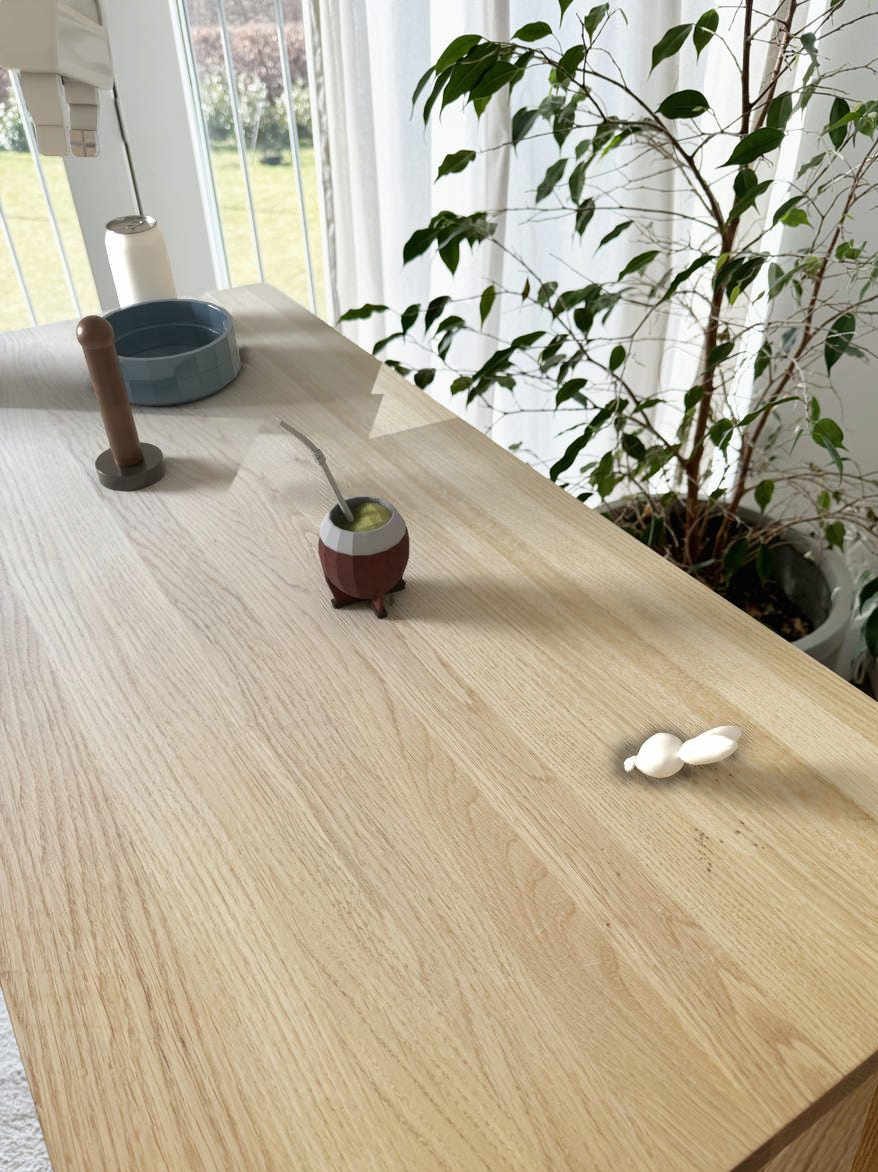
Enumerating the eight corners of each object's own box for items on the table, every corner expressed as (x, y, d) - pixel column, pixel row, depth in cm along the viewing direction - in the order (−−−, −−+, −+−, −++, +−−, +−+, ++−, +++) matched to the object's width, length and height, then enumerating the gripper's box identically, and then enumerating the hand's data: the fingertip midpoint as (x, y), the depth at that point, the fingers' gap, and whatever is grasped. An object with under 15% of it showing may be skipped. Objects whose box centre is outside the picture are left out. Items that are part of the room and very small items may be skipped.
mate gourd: (425, 608, 80) (417, 444, 70) (332, 637, 78) (310, 470, 68) (391, 558, 85) (379, 397, 75) (302, 583, 83) (277, 420, 73)
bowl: (77, 406, 105) (62, 357, 102) (128, 342, 117) (117, 296, 113) (218, 412, 104) (209, 363, 100) (256, 347, 115) (249, 301, 112)
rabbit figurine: (626, 735, 70) (739, 705, 67) (644, 788, 70) (757, 761, 67) (608, 754, 64) (729, 723, 62) (626, 812, 64) (749, 783, 62)
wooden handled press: (93, 503, 92) (40, 331, 81) (116, 468, 96) (70, 300, 85) (157, 506, 91) (112, 333, 80) (178, 471, 96) (138, 303, 85)
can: (116, 335, 118) (89, 231, 110) (142, 313, 123) (119, 211, 115) (166, 341, 117) (143, 236, 109) (191, 318, 121) (171, 216, 114)
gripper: (31, -56, 73) (59, 156, 79) (-67, -130, 54) (-21, 154, 60) (121, -50, 74) (143, 159, 79) (55, -121, 55) (89, 157, 61)
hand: (72, 157), depth 70 cm, fingers open, 8 cm apart
